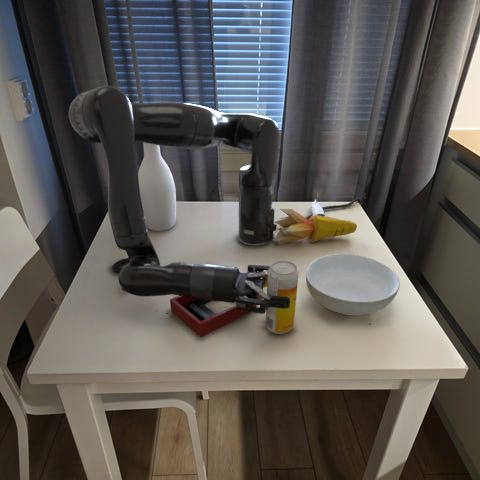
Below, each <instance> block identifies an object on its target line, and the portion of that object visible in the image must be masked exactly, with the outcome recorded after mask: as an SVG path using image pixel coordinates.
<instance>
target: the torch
mask: <svg viewBox="0 0 480 480" xmlns="http://www.w3.org/2000/svg"><path fill="white" fill-rule="evenodd" d="M279 210H280V211H282V212H283V213H284V214H286V215H287V216H283V217H279V218H276V219H274V224H275V225H277V230H278V232H277V233H276V235H275V236H274V237H273V241H276V242H277V243H276V245H280V244H281V245H282V244H288V243H289V244H290V243H292V242H297V241H300V240H303V239H306V238H308V240H309V241H310V243H315V242H318V241H321V240H324V239H327V238H335V237H341V236H347V235H350V234H353V233H355V232H356V230H357V228H358V225H357V223H356V222H354V221H351V220H345V219H339V218H334V217H330V216H326V215H325V216H319V215H314V216H311V217H310V219H306V216H304V215H302V214H301V213H299V212H297V211H295V210H294V209H292V208H279Z"/></svg>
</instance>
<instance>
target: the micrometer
mask: <svg viewBox="0 0 480 480" xmlns="http://www.w3.org/2000/svg"><path fill="white" fill-rule="evenodd" d="M128 263H129V258H128V257H126V258H122V259H119V260H117V261H116V262H114V264H113V265H112V267H111V269H112V271H113V272H114V273H116V274H119V273H120V271H121V269H122V268H123V267H121V266H123V265H126V264H128ZM120 288H121V291H122V292H126V291H125V290H124V289H123V288H122V287H120Z"/></svg>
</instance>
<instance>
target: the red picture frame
mask: <svg viewBox="0 0 480 480" xmlns="http://www.w3.org/2000/svg"><path fill="white" fill-rule="evenodd" d="M211 302H212V301H211V300H203V299H198V298H194V297H187V296H178V295H176V296H174V297H173V298H169V304H170V305H169V306H170V313H171V314H173V315H174V316H175V317H176V318H177V319H179V320H180V322H182V323H183V324H184V325H185V326H187V327H188V328H189V330H191V331H193V332H194V334H196V335H197V336H198V338H202V337H205V336H206V335H207V336H208V335H209V334H210V333H213V332H214V331H217V330H219V329H221V328H223V327H225V326H227V325H230V324H231V323H233V322H235V321H237V320H239V319H242V318H243V317H245V316H247V315H250V314H252V313H253V312H248V311H242V310H237V309H236V304H235V305H233V306H231V307H229V308H226V309H225V310H222V311H220V312H218V313H216V312H214V310H212V309H211V308H209V307H208V306H207V305H206V304H208V303H211ZM234 303H236V301H235V302H234ZM254 307H258V305H256V304H254Z"/></svg>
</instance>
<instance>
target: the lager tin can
mask: <svg viewBox="0 0 480 480" xmlns="http://www.w3.org/2000/svg"><path fill="white" fill-rule="evenodd" d="M269 266H270V268H269V270H268V271H267V272H268V282H267V287H266V294H267V295H269V296H270V297H271V296H279V297H288V298H290V306H289V308H288V309H287V308H284V309H283V308H274V307H270V308H269V309H266V312H265V322H264V323H265V326H266V328H267V329H268V330H269V331H270V332H271V333H273V334H277V335H283V334H287V333H288V332H290V331H291V330H292V329H293V328H294V324H295V315H296V306H297V305H296V304H297V296H298V294H297V293H298V285H299V284H298V283H299V269H298V266H297V264H295V262H292V261H289V260H286V259H285V260H281V259H280V260H276V261H273V262H272V263H270V265H269Z"/></svg>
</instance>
